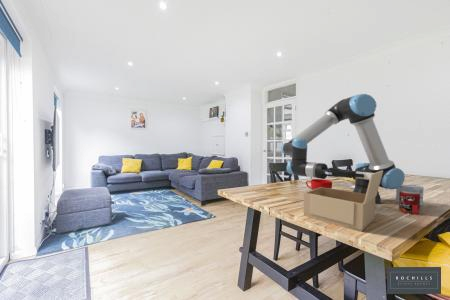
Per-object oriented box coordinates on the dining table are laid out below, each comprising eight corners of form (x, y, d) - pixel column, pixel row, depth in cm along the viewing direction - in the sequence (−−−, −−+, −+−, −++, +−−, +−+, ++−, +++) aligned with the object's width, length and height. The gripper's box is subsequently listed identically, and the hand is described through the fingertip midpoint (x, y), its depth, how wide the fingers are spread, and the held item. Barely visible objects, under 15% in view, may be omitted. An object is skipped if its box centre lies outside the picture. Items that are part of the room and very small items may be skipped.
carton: (302, 215, 99) (302, 192, 99) (320, 206, 114) (321, 186, 113) (361, 232, 81) (362, 204, 81) (374, 219, 96) (375, 195, 95)
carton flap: (371, 174, 80) (372, 174, 79) (382, 170, 93) (383, 170, 92) (363, 203, 82) (364, 204, 81) (375, 195, 95) (376, 196, 94)
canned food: (394, 209, 110) (395, 189, 110) (408, 209, 111) (409, 189, 111) (408, 214, 103) (409, 192, 102) (423, 214, 103) (424, 192, 103)
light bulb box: (414, 202, 126) (414, 184, 126) (423, 205, 120) (424, 186, 119) (395, 201, 127) (395, 183, 127) (403, 204, 121) (404, 186, 120)
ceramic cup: (310, 191, 151) (310, 177, 150) (335, 196, 138) (335, 181, 138) (301, 194, 142) (301, 179, 142) (327, 199, 129) (327, 183, 129)
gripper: (322, 176, 108) (377, 183, 91) (310, 179, 99) (369, 187, 82) (322, 162, 108) (378, 166, 90) (311, 163, 99) (370, 168, 82)
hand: (374, 176), depth 86 cm, fingers closed
